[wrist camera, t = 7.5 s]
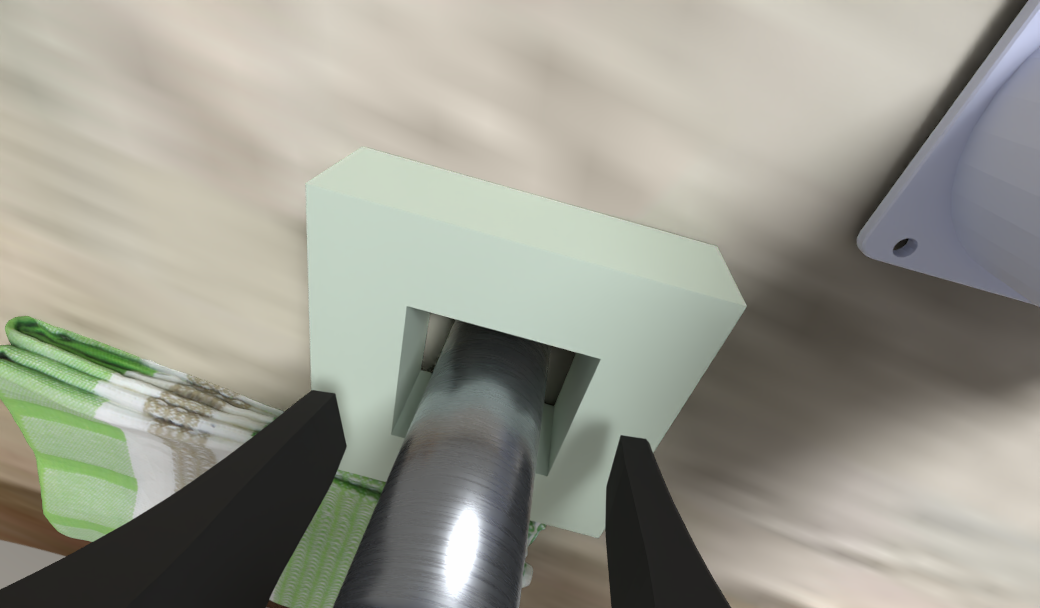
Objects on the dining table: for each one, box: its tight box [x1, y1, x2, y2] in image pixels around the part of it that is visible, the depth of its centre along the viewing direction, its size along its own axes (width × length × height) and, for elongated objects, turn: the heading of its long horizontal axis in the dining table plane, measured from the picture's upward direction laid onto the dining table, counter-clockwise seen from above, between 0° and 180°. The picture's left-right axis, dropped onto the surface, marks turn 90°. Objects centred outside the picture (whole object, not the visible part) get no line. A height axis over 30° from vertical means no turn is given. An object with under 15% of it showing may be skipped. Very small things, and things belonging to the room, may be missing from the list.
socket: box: [306, 146, 747, 538], centre depth 14 cm, size 10×10×3 cm
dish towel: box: [0, 316, 546, 608], centre depth 23 cm, size 17×23×4 cm
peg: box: [333, 319, 551, 608], centre depth 12 cm, size 3×3×9 cm
